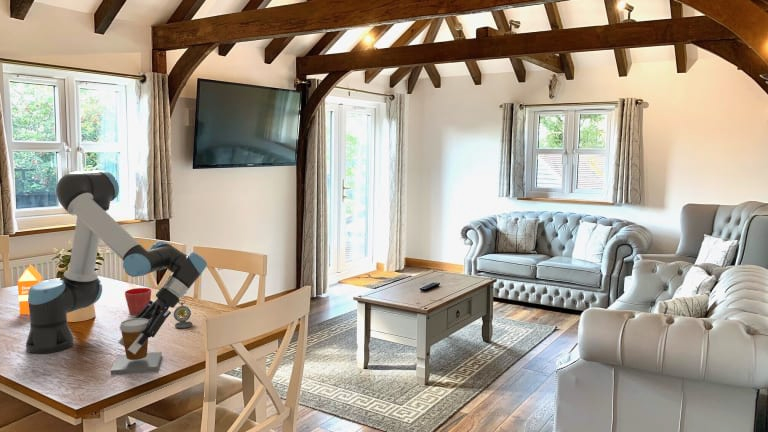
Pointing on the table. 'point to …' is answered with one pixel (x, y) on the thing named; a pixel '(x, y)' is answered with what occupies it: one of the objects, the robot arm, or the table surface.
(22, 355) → the table surface
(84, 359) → the table surface
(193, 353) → the table surface
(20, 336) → the table surface
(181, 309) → the pocket watch
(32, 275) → the orange juice
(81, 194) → the robot arm
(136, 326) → the disposable coffee cup
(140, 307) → the flower pot
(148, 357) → the slate tile
